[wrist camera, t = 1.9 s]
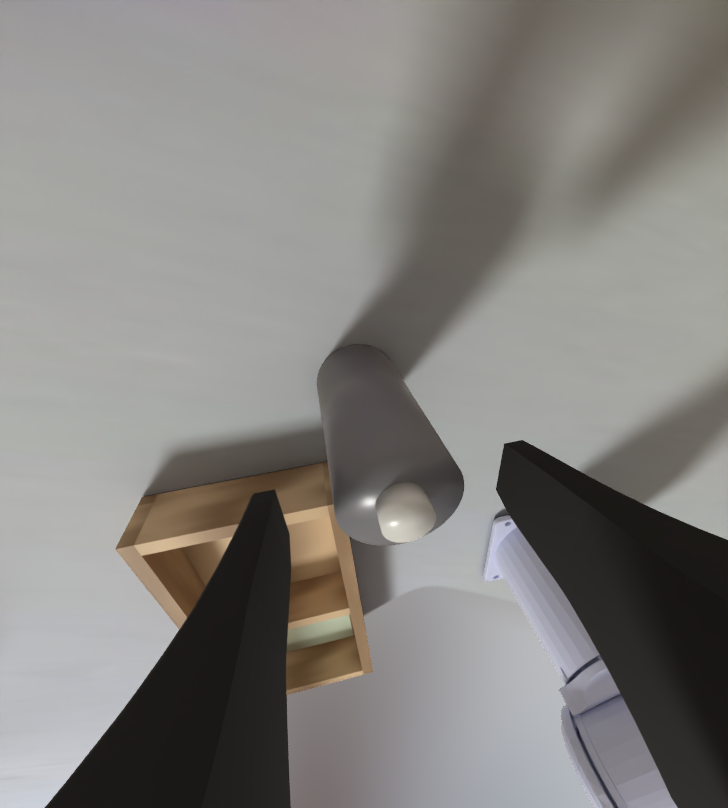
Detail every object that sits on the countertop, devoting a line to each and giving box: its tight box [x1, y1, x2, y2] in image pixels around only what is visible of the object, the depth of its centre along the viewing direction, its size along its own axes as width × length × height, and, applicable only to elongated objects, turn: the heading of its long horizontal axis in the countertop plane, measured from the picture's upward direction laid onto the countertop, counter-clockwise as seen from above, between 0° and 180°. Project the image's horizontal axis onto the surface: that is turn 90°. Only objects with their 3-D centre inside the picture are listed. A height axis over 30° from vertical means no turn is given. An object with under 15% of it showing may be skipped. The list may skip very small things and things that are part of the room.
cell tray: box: [115, 462, 373, 695], centre depth 22 cm, size 11×20×3 cm, turn 5°
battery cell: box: [317, 344, 464, 546], centre depth 13 cm, size 4×4×9 cm
